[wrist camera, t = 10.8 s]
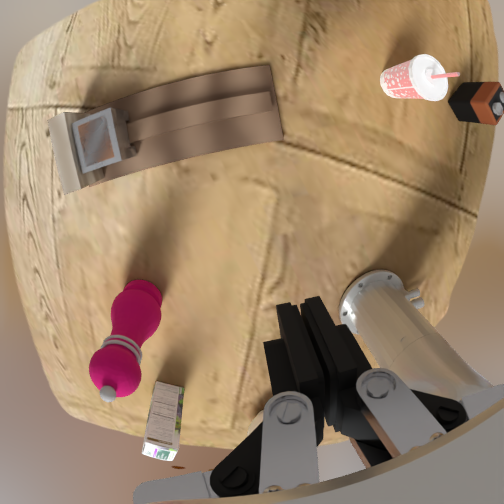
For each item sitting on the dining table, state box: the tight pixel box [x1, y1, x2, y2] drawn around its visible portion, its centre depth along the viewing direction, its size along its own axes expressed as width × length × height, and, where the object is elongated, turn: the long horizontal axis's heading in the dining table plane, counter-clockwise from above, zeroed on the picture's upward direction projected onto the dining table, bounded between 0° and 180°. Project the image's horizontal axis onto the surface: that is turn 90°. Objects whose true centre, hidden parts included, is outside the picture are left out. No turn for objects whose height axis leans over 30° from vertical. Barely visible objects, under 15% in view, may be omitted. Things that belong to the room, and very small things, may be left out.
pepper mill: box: [89, 280, 162, 402], centre depth 32 cm, size 7×7×20 cm
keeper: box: [72, 108, 137, 174], centre depth 28 cm, size 5×6×6 cm
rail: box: [48, 65, 283, 195], centre depth 29 cm, size 26×10×8 cm, turn 100°
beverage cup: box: [380, 54, 460, 101], centre depth 26 cm, size 6×6×14 cm
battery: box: [448, 82, 504, 125], centre depth 29 cm, size 4×7×10 cm, turn 138°
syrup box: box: [142, 381, 184, 461], centre depth 44 cm, size 6×6×14 cm
